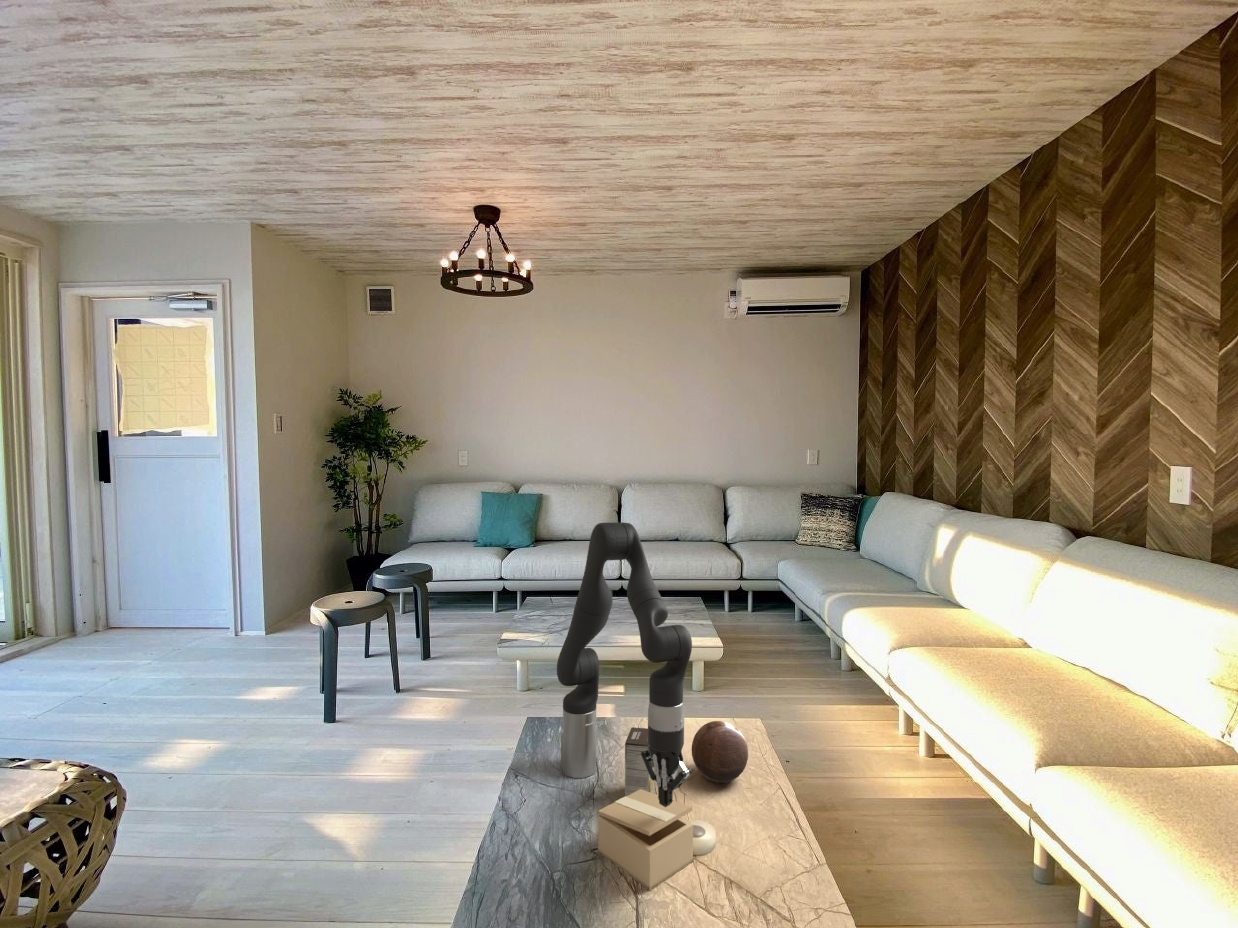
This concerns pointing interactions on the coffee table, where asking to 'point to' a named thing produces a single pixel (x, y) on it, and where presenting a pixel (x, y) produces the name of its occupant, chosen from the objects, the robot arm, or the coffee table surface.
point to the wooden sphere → (719, 751)
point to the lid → (644, 812)
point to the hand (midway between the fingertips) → (665, 804)
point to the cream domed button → (703, 837)
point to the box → (647, 850)
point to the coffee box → (637, 762)
